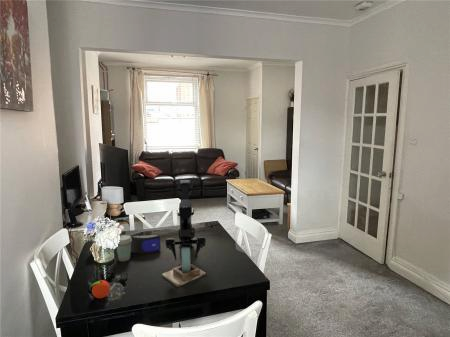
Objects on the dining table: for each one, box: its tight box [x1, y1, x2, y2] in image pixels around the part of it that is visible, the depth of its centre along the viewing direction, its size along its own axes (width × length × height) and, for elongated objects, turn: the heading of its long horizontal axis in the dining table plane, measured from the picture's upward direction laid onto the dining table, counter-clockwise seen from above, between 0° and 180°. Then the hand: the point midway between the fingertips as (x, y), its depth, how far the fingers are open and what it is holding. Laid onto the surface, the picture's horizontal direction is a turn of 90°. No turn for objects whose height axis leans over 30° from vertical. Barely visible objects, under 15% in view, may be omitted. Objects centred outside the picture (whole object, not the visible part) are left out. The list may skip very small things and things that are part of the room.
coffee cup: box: [116, 234, 132, 262], centre depth 156 cm, size 8×8×12 cm
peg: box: [180, 247, 191, 273], centre depth 137 cm, size 4×4×13 cm
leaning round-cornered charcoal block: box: [131, 234, 162, 255], centre depth 164 cm, size 16×5×9 cm, turn 98°
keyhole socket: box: [161, 262, 207, 288], centre depth 140 cm, size 16×13×4 cm
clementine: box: [89, 279, 111, 299], centre depth 122 cm, size 8×7×7 cm
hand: (185, 260), depth 136 cm, fingers open, 9 cm apart
